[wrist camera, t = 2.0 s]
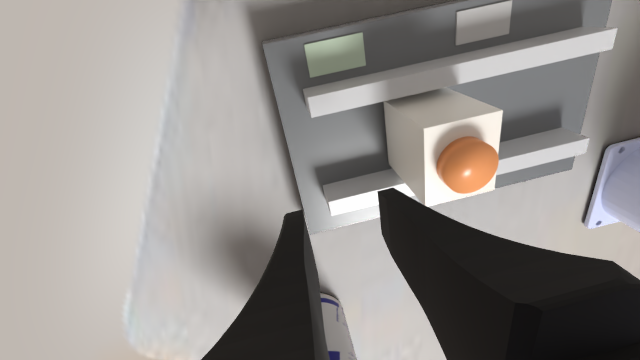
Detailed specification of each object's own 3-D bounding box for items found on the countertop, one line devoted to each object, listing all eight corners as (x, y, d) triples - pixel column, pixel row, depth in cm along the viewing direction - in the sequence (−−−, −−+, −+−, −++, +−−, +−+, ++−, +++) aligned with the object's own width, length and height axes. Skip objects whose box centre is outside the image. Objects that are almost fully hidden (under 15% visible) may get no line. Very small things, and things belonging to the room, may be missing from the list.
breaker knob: (443, 86, 18) (516, 115, 13) (442, 150, 20) (505, 198, 15) (383, 100, 17) (433, 135, 12) (388, 163, 19) (433, 216, 14)
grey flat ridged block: (585, -28, 18) (662, -38, 15) (549, 158, 24) (598, 182, 21) (262, 41, 17) (262, 48, 14) (306, 217, 23) (314, 254, 19)
